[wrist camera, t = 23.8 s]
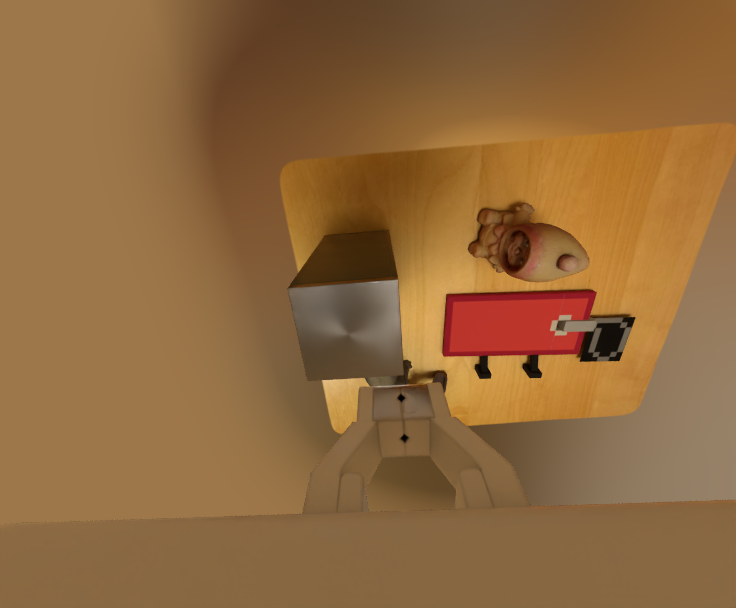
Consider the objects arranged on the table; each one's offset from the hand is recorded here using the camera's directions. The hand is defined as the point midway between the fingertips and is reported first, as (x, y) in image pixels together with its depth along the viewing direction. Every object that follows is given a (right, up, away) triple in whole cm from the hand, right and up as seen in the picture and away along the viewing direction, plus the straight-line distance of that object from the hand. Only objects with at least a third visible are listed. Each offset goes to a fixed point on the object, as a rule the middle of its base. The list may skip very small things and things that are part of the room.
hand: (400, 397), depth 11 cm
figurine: (+19, +13, +32) cm, 39 cm away
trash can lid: (-3, +1, +16) cm, 17 cm away
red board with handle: (+27, -1, +39) cm, 47 cm away
